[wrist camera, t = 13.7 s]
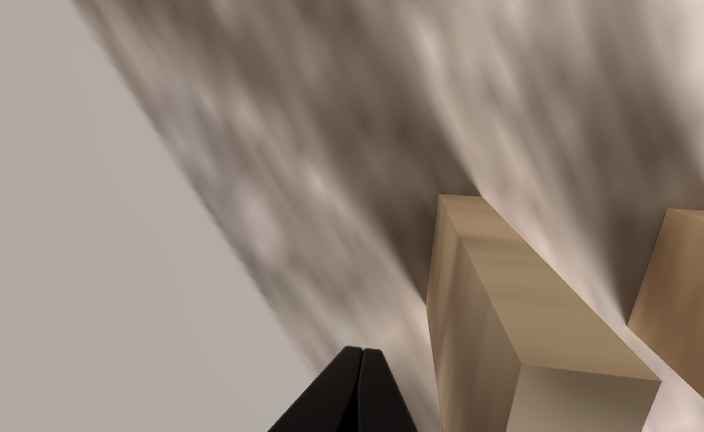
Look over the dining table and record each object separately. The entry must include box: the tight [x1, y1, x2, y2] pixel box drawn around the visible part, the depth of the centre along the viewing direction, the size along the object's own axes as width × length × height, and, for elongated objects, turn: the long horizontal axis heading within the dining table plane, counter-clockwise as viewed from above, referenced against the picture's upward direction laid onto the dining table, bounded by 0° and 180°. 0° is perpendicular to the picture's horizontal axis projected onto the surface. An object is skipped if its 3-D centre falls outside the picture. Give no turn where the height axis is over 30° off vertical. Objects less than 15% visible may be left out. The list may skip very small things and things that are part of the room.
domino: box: [426, 194, 662, 432], centre depth 9 cm, size 5×2×9 cm, turn 178°
